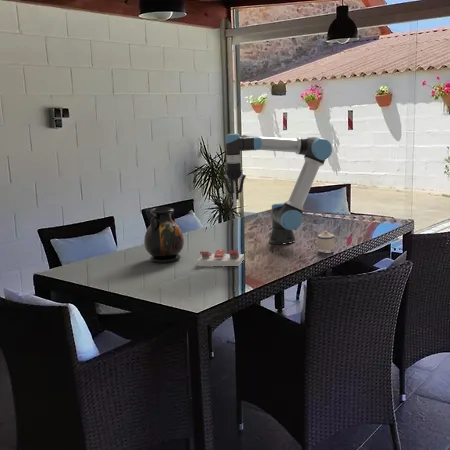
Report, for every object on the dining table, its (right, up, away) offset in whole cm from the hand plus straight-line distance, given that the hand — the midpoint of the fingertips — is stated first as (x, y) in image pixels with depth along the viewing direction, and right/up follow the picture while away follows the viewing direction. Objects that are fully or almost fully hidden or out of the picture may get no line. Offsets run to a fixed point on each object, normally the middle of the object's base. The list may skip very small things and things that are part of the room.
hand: (235, 205), depth 322 cm
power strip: (-8, -31, -16) cm, 35 cm away
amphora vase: (-38, -30, -5) cm, 49 cm away
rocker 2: (-8, -27, -18) cm, 34 cm away
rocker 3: (-1, -27, -21) cm, 35 cm away
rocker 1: (-16, -28, -17) cm, 36 cm away
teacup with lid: (+48, -25, -2) cm, 54 cm away
